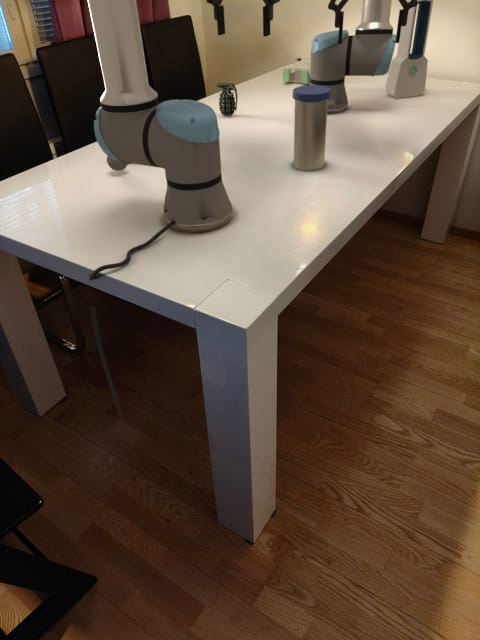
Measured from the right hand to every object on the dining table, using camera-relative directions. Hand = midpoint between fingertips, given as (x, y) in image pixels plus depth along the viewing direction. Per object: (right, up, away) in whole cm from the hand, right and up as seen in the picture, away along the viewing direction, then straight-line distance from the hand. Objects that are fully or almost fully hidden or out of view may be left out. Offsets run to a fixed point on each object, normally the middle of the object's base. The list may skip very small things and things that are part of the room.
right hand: (368, 42), depth 119 cm
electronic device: (+29, +16, +61) cm, 70 cm away
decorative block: (-1, +35, +89) cm, 95 cm away
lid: (-14, -12, -1) cm, 18 cm away
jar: (-13, -26, +11) cm, 31 cm away
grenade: (-35, +4, +51) cm, 62 cm away
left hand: (-30, +8, +11) cm, 33 cm away
